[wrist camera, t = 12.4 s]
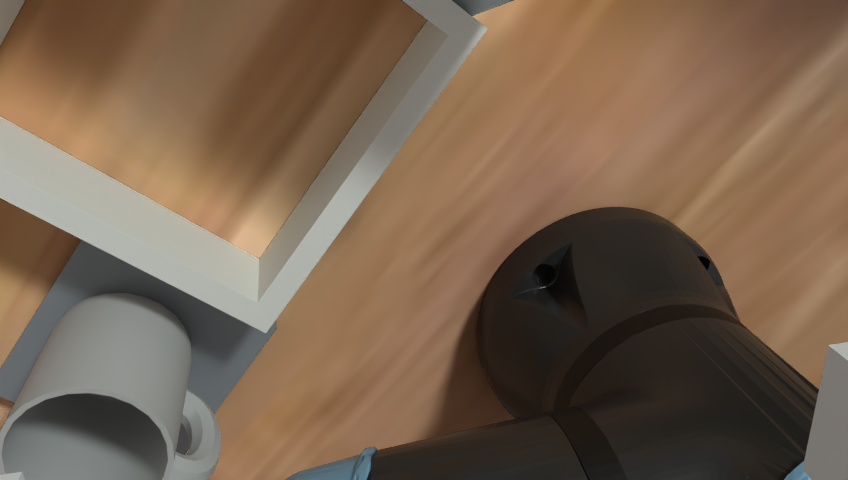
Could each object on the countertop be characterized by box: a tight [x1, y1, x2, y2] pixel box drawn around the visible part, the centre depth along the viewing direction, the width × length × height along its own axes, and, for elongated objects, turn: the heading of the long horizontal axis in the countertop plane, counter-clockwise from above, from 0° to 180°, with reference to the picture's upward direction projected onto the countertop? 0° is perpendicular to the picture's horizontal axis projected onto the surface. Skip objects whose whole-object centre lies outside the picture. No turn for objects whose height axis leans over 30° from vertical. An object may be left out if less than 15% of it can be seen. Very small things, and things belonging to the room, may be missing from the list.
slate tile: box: [0, 240, 277, 455], centre depth 41 cm, size 11×11×1 cm
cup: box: [0, 293, 221, 480], centre depth 37 cm, size 7×10×9 cm
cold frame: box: [0, 0, 513, 333], centre depth 28 cm, size 23×18×16 cm
